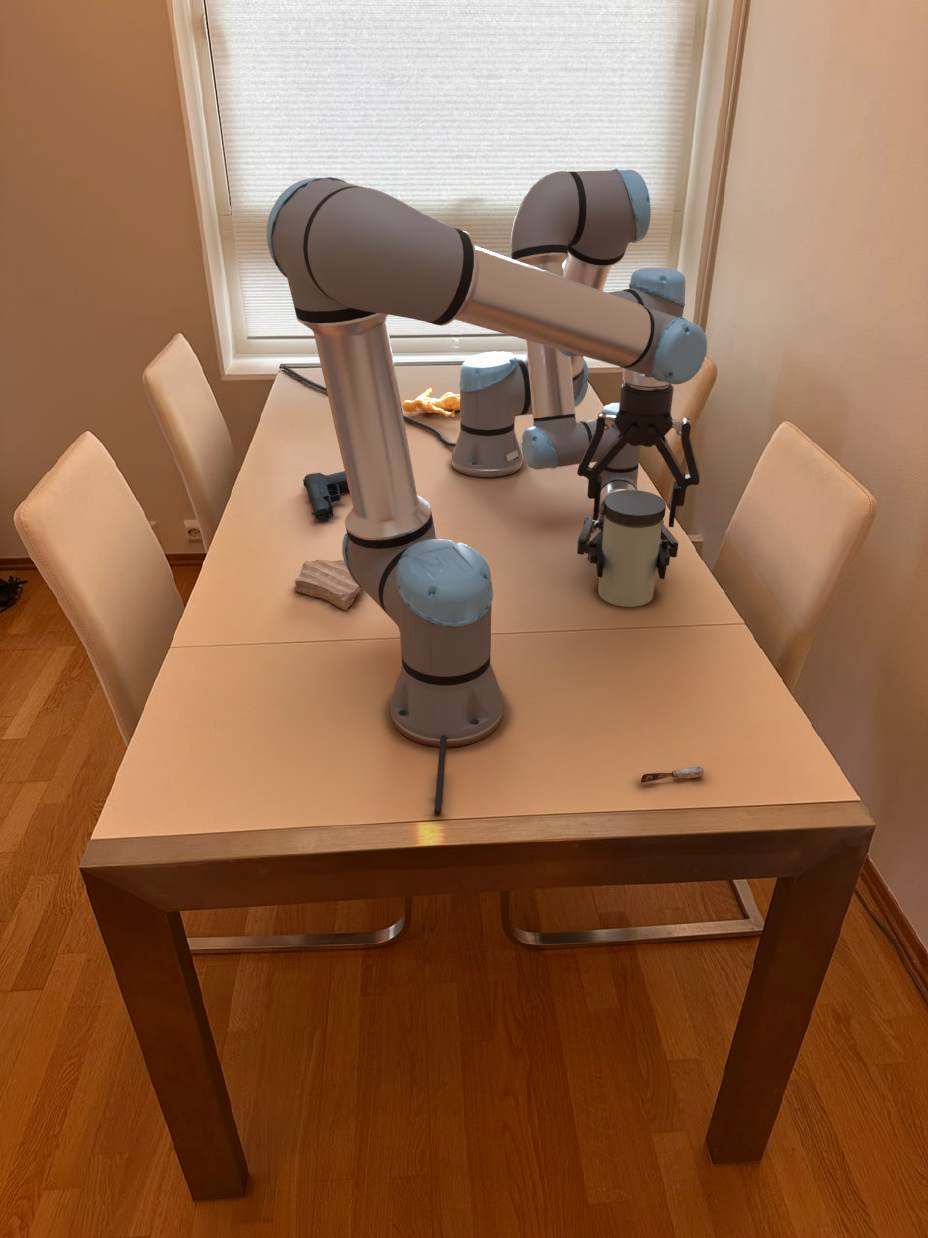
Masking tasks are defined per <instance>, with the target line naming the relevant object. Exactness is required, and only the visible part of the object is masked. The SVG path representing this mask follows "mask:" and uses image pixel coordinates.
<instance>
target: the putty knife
mask: <svg viewBox="0 0 928 1238" xmlns="http://www.w3.org/2000/svg"><path fill="white" fill-rule="evenodd" d="M704 772H705V771H704V768H702V767H701V766H697V765H695V766H688V767H683V768H679V769H675V770H673V771H671V772H653V773H652V772H651V773H650V772H649V773H644V774H642V776H641V779H640V783H642V784H645V783H648V782H653V781H659V780H665V779H668V778H673V779H674V778H675V779H693V778H694V779H695V778H700V777H702V776H703V775H704Z"/></svg>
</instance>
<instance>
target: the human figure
mask: <svg viewBox="0 0 928 1238" xmlns="http://www.w3.org/2000/svg"><path fill="white" fill-rule="evenodd" d="M424 391H425V392H423V393H422V394H420V395H418V396H416V398H415V399H414V400H404V401H403V402H402V403H401V407H402V411H404V412H405V413H410V414H412V413H414V412H417V408H418V409H420V410H421V411H423V412H424V413H427V414H439V415H443V416H444V417H449V416H450V417H451V418H452V417H453V418H454V417H455V416H456V414H455V411H460V393H457V394H455V393H453V392H446V393H444V394H443V395H442V396H441V397H440V398H434V397H429V396H430V395H432V394H433V392H434V391H433V389H432V385H429V387H428V389H424ZM450 410H452V411H450Z"/></svg>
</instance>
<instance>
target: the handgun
mask: <svg viewBox="0 0 928 1238" xmlns="http://www.w3.org/2000/svg"><path fill="white" fill-rule="evenodd" d="M302 482H303V486H304V488H305V489H306V492H307V494H308V498H309V502H310V505H311V507H312V510H313V511H312V512H311V516H315V520H316V521H318V522H321V523H323V522H328V521H329V520H330V516H331V518H333V517H334V506H333V503H337V502H339V501H341V495H344V494H348V493H350V492H349V488H348V483H347V479H346V474H345V470H343V471H339V472H335V473H332V474H323V472H313V473H308V474H306V475H305V476H304V479H302Z"/></svg>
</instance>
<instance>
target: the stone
mask: <svg viewBox="0 0 928 1238" xmlns="http://www.w3.org/2000/svg"><path fill="white" fill-rule="evenodd" d="M294 585H295V586H294V591H295V592H299V593H301V594H305V595H307V596H310V597H312V598H320V599H324V600H325V601H328V602H329V603H331V604H332V605H334V606H335V607H338V608H339V609H341V610H344V611H347V610H348V608H349V607H351V606H352V605H353V604H354V601H355V598H356V596H357V595H358V594H359V593H360V592H361V590H363V589H362V588H360V587H359V586H358V584H356V582H355V581H354V580H353V579H352V577H351V575H350V573H349V571H348V569H347V567H346V565H345V562H344V559H341V560H340V559H339V560H328V559H316V560H314V561H313V560H311V561H309V560H306V561H304V562H303V563H302V566H301V568H300V572H299V575H298V577H297V578H296V579H295V581H294Z"/></svg>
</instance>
